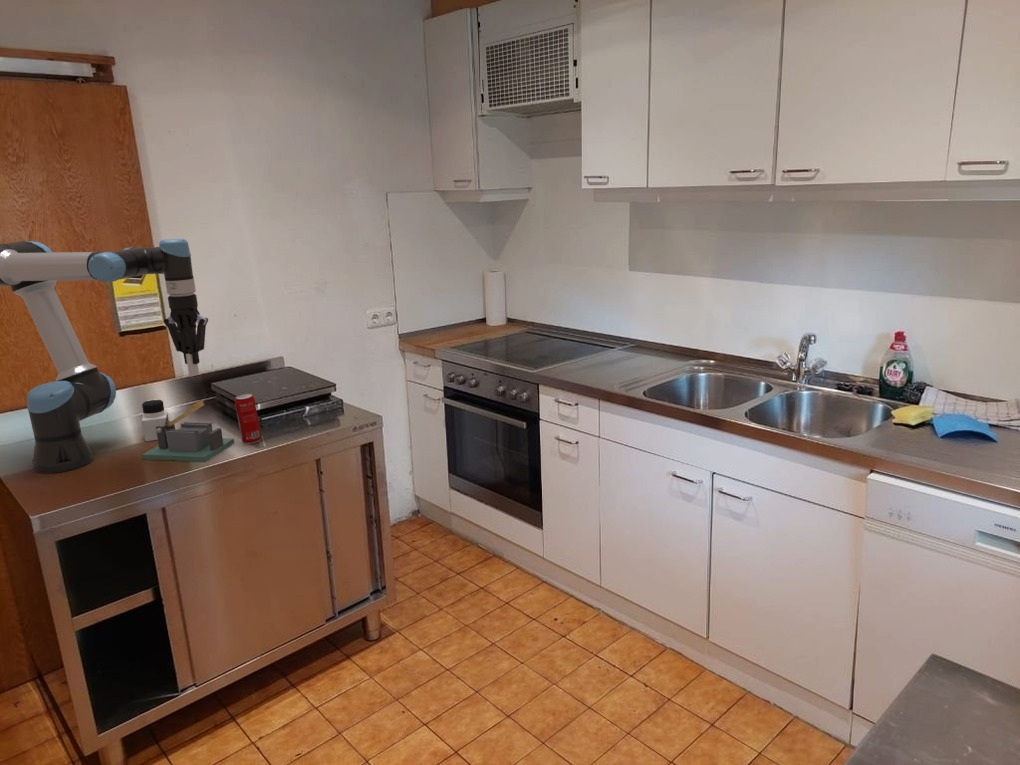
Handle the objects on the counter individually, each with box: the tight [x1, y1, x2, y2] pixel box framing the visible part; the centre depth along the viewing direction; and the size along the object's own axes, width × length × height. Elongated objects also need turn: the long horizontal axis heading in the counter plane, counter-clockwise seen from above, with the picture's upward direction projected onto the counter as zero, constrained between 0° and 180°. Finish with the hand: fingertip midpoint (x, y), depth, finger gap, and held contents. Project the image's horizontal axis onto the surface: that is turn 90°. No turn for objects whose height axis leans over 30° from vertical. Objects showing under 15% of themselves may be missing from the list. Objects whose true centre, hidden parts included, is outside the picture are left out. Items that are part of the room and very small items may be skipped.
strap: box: [165, 399, 205, 429], centre depth 222 cm, size 16×4×2 cm, turn 79°
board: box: [142, 420, 235, 463], centre depth 223 cm, size 20×16×8 cm
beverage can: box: [234, 393, 262, 445], centre depth 229 cm, size 6×6×15 cm
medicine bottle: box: [141, 398, 170, 442], centre depth 237 cm, size 7×7×12 cm
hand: (194, 374), depth 217 cm, fingers closed
